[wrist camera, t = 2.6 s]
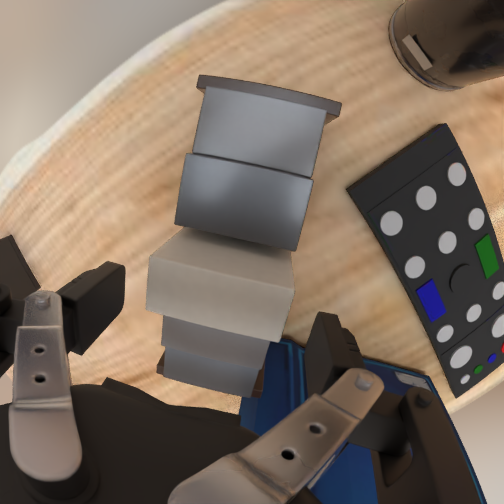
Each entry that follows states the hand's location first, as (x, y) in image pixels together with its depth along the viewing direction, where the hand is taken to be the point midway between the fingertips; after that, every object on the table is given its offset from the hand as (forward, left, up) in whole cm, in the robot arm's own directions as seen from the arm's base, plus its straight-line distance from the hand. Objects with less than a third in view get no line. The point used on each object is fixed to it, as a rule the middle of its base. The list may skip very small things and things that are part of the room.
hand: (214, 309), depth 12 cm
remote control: (+1, +22, -15) cm, 27 cm away
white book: (0, 0, -14) cm, 14 cm away
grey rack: (0, 0, -15) cm, 15 cm away
